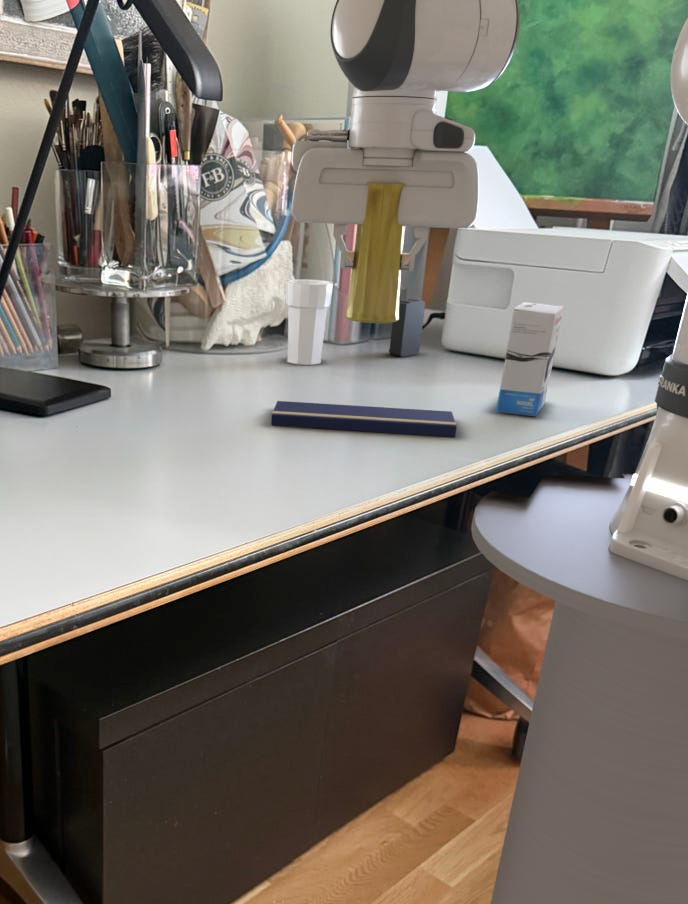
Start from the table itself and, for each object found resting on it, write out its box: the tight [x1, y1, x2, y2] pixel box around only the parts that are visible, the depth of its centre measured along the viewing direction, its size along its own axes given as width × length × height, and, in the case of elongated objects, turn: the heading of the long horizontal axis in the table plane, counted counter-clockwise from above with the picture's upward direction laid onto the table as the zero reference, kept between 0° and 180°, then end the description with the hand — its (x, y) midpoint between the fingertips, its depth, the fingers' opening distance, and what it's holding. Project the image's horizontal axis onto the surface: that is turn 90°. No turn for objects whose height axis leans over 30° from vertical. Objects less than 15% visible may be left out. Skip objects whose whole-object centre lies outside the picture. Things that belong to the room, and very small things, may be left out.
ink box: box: [495, 301, 565, 417], centre depth 111 cm, size 8×5×12 cm, turn 155°
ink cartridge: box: [388, 298, 426, 358], centre depth 143 cm, size 5×2×8 cm, turn 133°
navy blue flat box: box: [270, 400, 458, 438], centre depth 105 cm, size 20×7×1 cm, turn 81°
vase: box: [345, 183, 406, 324], centre depth 105 cm, size 6×6×14 cm
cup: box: [285, 278, 334, 366], centre depth 135 cm, size 7×7×11 cm
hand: (376, 269), depth 106 cm, fingers closed on vase, 5 cm apart
